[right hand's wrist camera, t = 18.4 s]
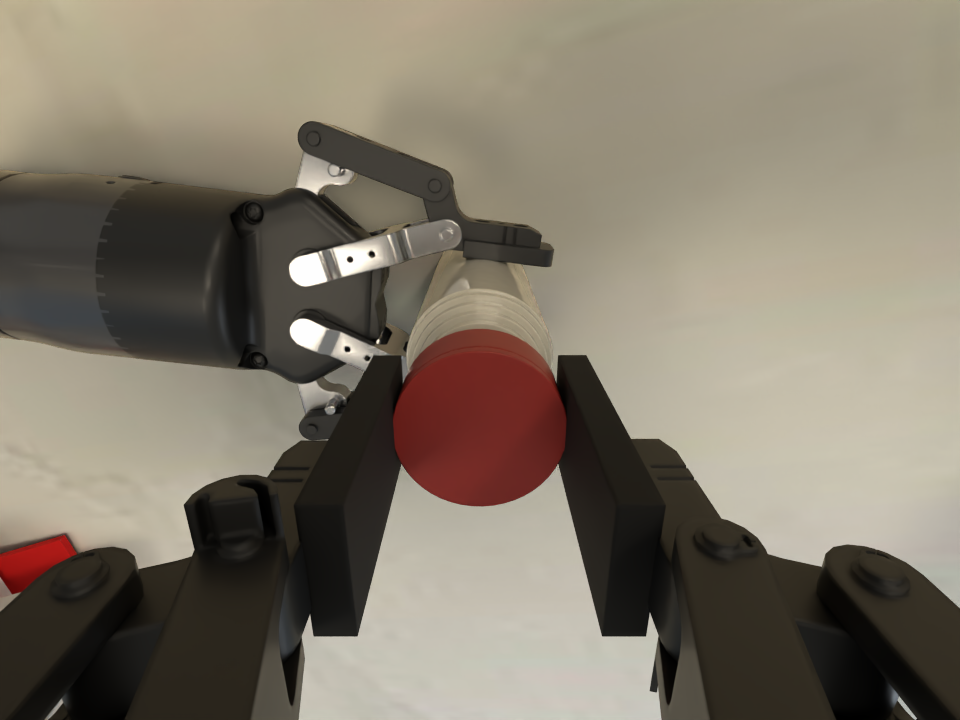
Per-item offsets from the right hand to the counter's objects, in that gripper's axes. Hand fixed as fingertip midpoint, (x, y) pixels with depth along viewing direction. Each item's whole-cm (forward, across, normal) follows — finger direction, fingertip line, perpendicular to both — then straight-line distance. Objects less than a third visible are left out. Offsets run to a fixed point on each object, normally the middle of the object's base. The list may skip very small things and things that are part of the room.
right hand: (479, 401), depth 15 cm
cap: (-2, 0, 0) cm, 2 cm away
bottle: (+16, 0, 0) cm, 16 cm away
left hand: (+9, -3, 0) cm, 10 cm away
